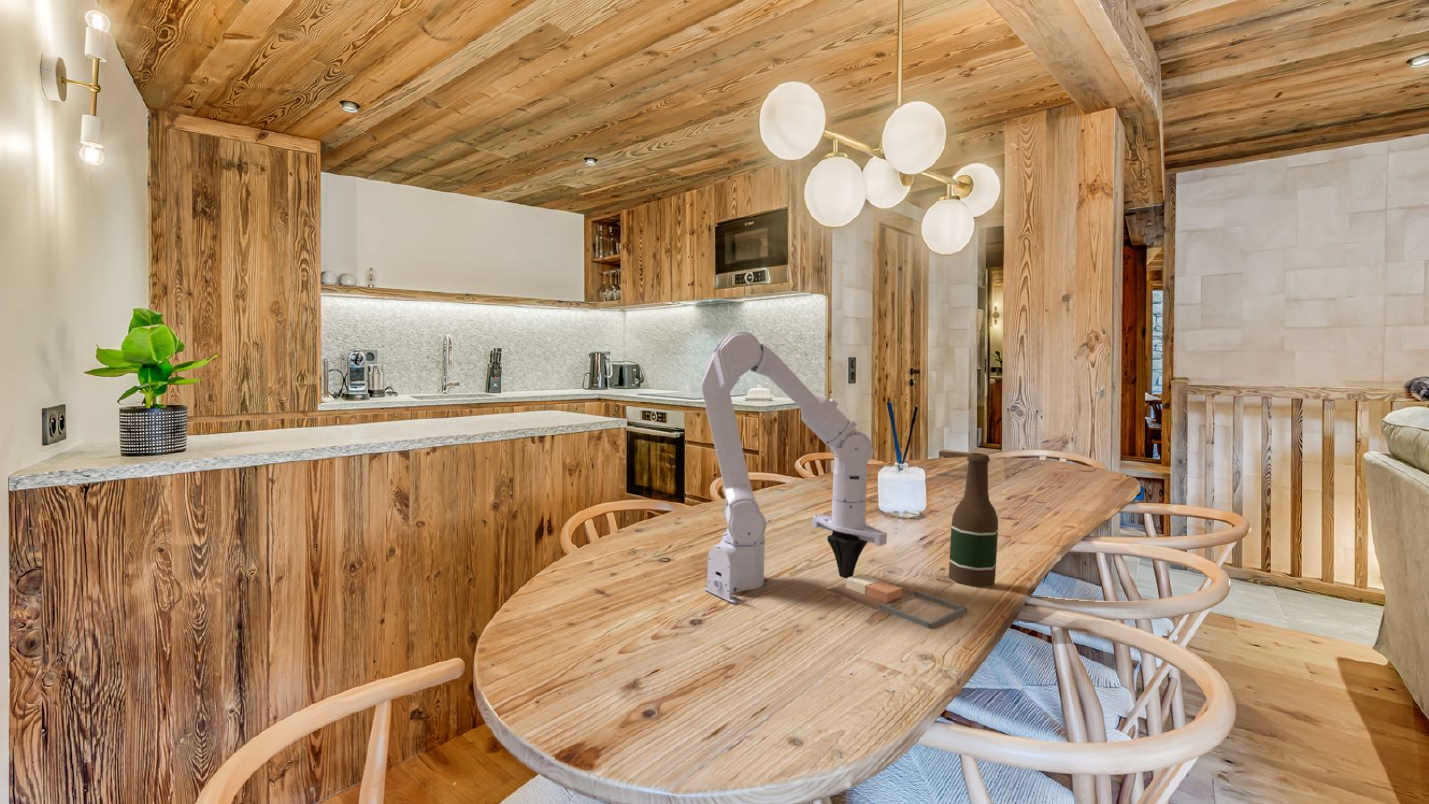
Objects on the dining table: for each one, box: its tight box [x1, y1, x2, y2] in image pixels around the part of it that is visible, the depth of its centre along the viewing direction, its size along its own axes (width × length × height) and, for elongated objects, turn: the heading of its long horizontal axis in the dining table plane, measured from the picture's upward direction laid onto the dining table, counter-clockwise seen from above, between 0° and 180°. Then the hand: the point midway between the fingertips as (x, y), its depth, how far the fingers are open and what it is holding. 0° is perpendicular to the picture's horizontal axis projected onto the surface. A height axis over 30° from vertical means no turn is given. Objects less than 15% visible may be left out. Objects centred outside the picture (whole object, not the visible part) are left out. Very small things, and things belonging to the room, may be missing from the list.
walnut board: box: [826, 582, 914, 610], centre depth 107 cm, size 11×10×2 cm
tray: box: [878, 590, 968, 629], centre depth 100 cm, size 10×9×2 cm
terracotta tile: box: [866, 580, 903, 603], centre depth 105 cm, size 4×4×2 cm
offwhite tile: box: [845, 573, 881, 594], centre depth 108 cm, size 4×4×2 cm
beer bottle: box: [948, 452, 999, 588], centre depth 113 cm, size 8×8×24 cm
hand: (846, 576), depth 111 cm, fingers closed
